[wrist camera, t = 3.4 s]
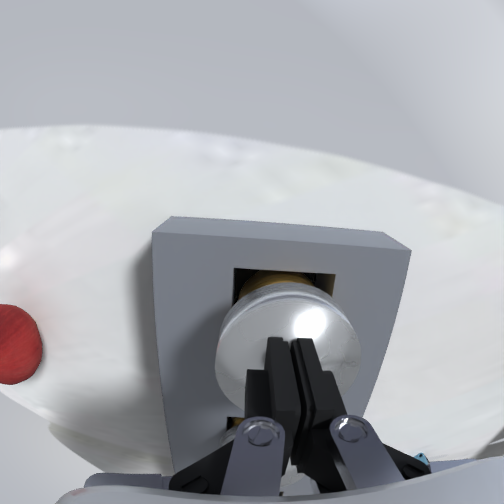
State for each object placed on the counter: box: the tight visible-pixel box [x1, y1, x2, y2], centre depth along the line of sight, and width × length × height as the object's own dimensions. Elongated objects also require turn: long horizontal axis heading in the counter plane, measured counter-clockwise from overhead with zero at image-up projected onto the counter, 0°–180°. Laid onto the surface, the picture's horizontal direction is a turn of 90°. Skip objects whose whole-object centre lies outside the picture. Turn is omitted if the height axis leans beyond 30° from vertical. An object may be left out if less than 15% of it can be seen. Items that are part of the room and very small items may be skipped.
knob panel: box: [152, 216, 412, 496], centre depth 21 cm, size 13×28×4 cm, turn 176°
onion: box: [0, 304, 42, 385], centre depth 17 cm, size 6×6×8 cm
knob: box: [215, 270, 361, 410], centre depth 15 cm, size 6×6×6 cm
